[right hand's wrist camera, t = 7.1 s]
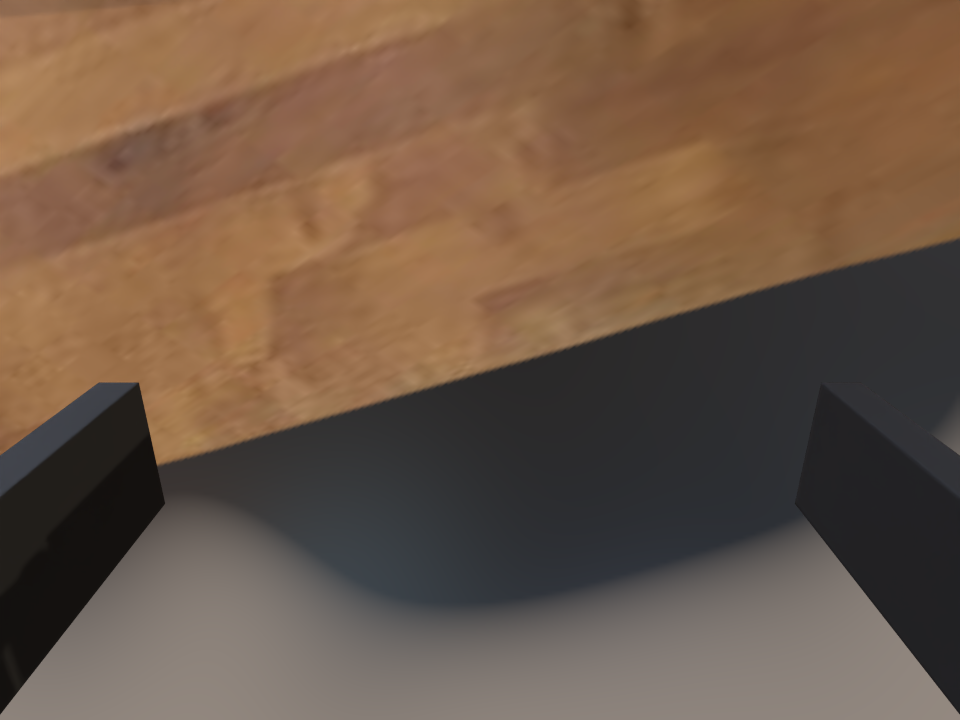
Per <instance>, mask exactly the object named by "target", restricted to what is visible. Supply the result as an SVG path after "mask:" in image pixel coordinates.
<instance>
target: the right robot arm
mask: <svg viewBox="0 0 960 720" xmlns="http://www.w3.org/2000/svg"><path fill="white" fill-rule="evenodd" d="M164 504H165V501H164V496H163V492H162V487H161V483H160V478H159V473H158V469H157V464H156V460H155V455H154V451H153V446H152V441H151V437H150V432H149V428H148V423H147V418H146V414H145V409H144V405H143V400H142V395H141V391H140V386H139V383H98V384H96V385H95V386H94V387H92V388H91V389H90V390H88V391H87V392H86V393H84V394H83V395H82V396H80V397H79V398H77V399H76V400H75V401H73V402H72V403H71V404H69V405H68V406H67V407H65V408H64V409H63V410H61V411H60V412H59V413H57V414H56V415H54V416H53V417H52V418H50V419H49V420H48V421H46V422H45V423H44V424H42V425H41V426H40V427H38V428H37V429H36V430H34V431H33V432H31V433H30V434H29V435H27V436H26V437H25V438H23V439H22V440H21V441H19V442H18V443H17V444H15V445H14V446H13V447H11V448H10V449H8V450H7V451H6V452H4V453H3V454H2V455H0V714H1V713H2V711H3V710H4V709H5V708H6V706H7V705H8V704H9V702H10V701H11V700H12V699H13V697H14V696H15V695H16V694H17V692H18V691H19V690H20V688H21V687H22V686H23V685H24V683H25V682H26V681H27V679H28V678H29V677H30V676H31V674H32V673H33V672H34V671H35V669H36V668H37V667H38V665H39V664H40V663H41V662H42V660H43V659H44V658H45V656H46V655H47V654H48V653H49V651H50V650H51V649H52V648H53V646H54V645H55V644H56V642H57V641H58V640H59V639H60V637H61V636H62V635H63V633H64V632H65V631H66V630H67V628H68V627H69V626H70V625H71V623H72V622H73V621H74V619H75V618H76V617H77V615H78V614H79V613H80V612H81V610H82V609H83V608H84V606H85V605H86V604H87V603H88V601H89V600H90V599H91V598H92V596H93V595H94V594H95V592H96V591H97V590H98V589H99V587H100V586H101V585H102V584H103V582H104V581H105V580H106V578H107V577H108V576H109V575H110V573H111V572H112V571H113V570H114V568H115V567H116V566H117V564H118V563H119V562H120V561H121V559H122V558H123V557H124V555H125V554H126V553H127V552H128V550H129V549H130V548H131V546H132V545H133V544H134V543H135V541H136V540H137V539H138V538H139V536H140V535H141V534H142V532H143V531H144V530H145V529H146V527H147V526H148V525H149V524H150V522H151V521H152V520H153V518H154V517H155V516H156V515H157V513H158V512H159V511H160V509H161V508H162V507H163V506H164ZM795 504H796V506H797V507H798V508H799V509H800V511H801V512H802V513H803V514H804V516H805V517H806V518H807V520H808V521H809V522H810V524H811V525H812V526H813V527H814V529H815V530H816V531H817V532H818V534H819V535H820V536H821V538H822V539H823V540H824V541H825V543H826V544H827V545H828V547H829V548H830V549H831V550H832V552H833V553H834V554H835V555H836V557H837V558H838V559H839V561H840V562H841V563H842V564H843V566H844V567H845V568H846V570H847V571H848V572H849V573H850V575H851V576H852V577H853V578H854V580H855V581H856V582H857V584H858V585H859V586H860V587H861V589H862V590H863V591H864V593H865V594H866V595H867V596H868V598H869V599H870V600H871V602H872V603H873V604H874V605H875V607H876V608H877V609H878V610H879V612H880V613H881V614H882V616H883V617H884V618H885V619H886V621H887V622H888V623H889V625H890V626H891V627H892V628H893V630H894V631H895V632H896V633H897V635H898V636H899V637H900V638H901V640H902V641H903V642H904V644H905V645H906V646H907V648H908V649H909V650H910V651H911V653H912V654H913V655H914V656H915V658H916V659H917V660H918V662H919V663H920V664H921V665H922V667H923V668H924V669H925V671H926V672H927V673H928V674H929V676H930V677H931V678H932V679H933V681H934V682H935V683H936V685H937V686H938V687H939V688H940V690H941V691H942V692H943V694H944V695H945V696H946V697H947V699H948V700H949V701H950V702H951V704H952V705H953V706H954V708H955V709H956V710H957V711H958V713H959V714H960V455H958V454H957V453H956V452H954V451H953V450H952V449H950V448H949V447H947V446H946V445H945V444H943V443H942V442H941V441H939V440H938V439H937V438H935V437H934V436H932V435H931V434H930V433H928V432H927V431H926V430H924V429H923V428H922V427H920V426H919V425H918V424H916V423H915V422H914V421H912V420H911V419H910V418H908V417H907V416H906V415H904V414H903V413H901V412H900V411H899V410H897V409H896V408H895V407H893V406H892V405H891V404H889V403H888V402H887V401H885V400H884V399H882V398H881V397H880V396H878V395H877V394H876V393H874V392H873V391H872V390H870V389H869V388H868V387H866V386H865V385H864V384H862V383H821V386H820V391H819V396H818V400H817V405H816V409H815V414H814V418H813V423H812V428H811V432H810V437H809V441H808V446H807V451H806V455H805V460H804V464H803V469H802V473H801V478H800V483H799V487H798V492H797V496H796V501H795Z"/></svg>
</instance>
